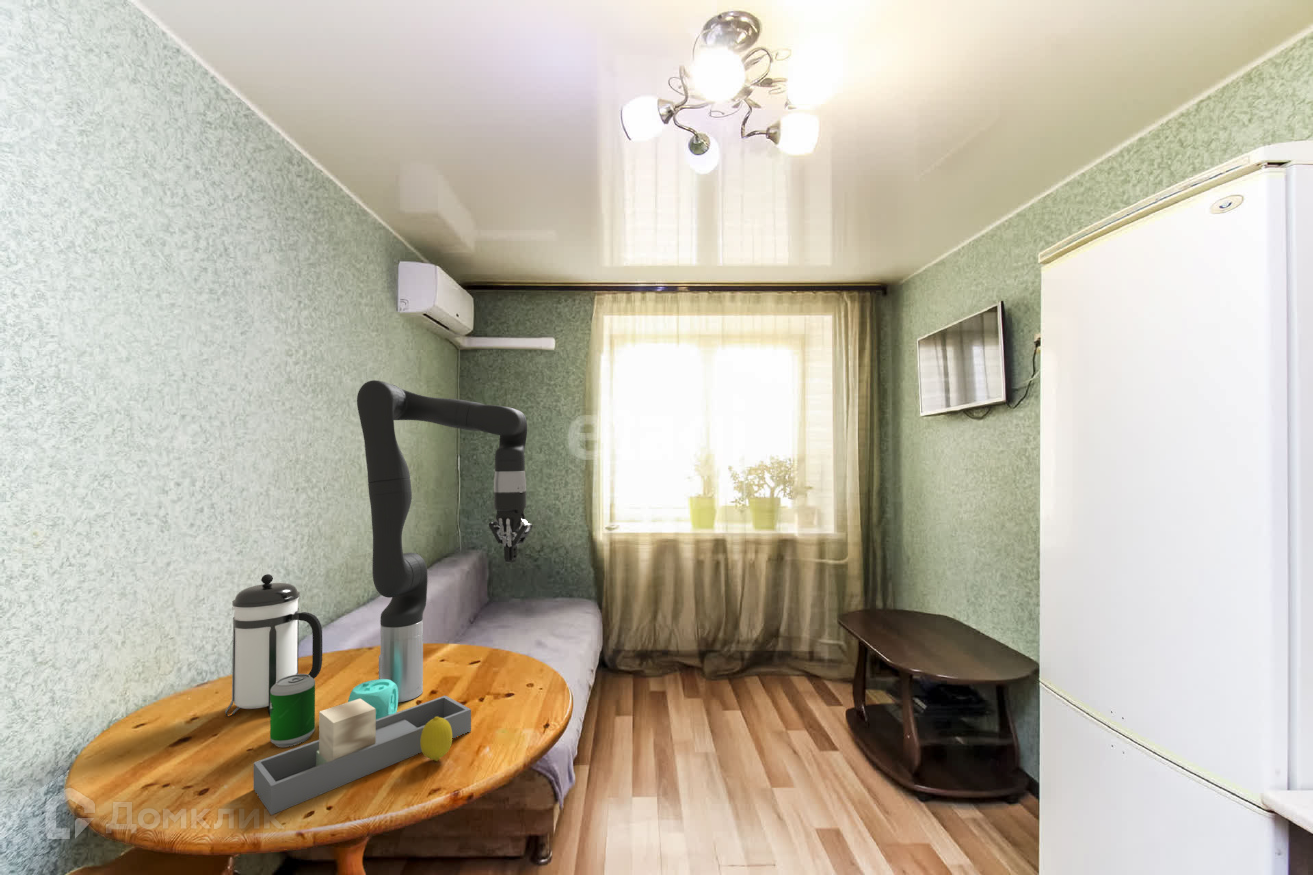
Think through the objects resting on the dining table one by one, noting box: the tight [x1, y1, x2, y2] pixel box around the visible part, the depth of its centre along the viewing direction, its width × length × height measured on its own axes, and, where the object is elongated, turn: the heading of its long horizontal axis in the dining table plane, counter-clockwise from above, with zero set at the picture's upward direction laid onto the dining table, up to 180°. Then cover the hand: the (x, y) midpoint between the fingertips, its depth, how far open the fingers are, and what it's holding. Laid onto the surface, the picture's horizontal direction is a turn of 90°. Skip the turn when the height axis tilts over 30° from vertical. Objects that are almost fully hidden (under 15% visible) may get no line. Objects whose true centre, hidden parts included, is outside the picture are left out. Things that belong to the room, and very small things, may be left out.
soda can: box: [269, 673, 316, 748], centre depth 112 cm, size 8×8×12 cm
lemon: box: [420, 716, 453, 762], centre depth 103 cm, size 6×6×8 cm
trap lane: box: [252, 695, 472, 816], centre depth 104 cm, size 35×11×4 cm, turn 138°
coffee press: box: [224, 573, 323, 717], centre depth 128 cm, size 17×16×30 cm
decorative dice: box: [347, 678, 399, 720], centre depth 118 cm, size 8×8×8 cm
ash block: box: [318, 699, 376, 762], centre depth 100 cm, size 7×7×8 cm
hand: (510, 561), depth 133 cm, fingers closed
